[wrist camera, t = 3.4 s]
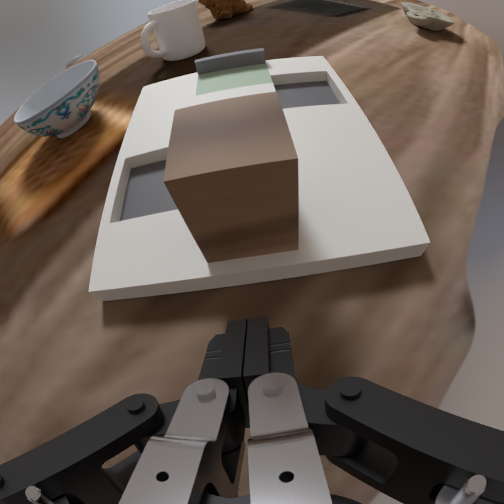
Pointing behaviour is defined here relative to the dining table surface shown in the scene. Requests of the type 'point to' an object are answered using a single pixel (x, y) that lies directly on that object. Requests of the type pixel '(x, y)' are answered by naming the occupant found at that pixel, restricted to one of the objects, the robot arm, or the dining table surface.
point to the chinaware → (61, 102)
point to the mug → (174, 31)
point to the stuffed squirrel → (226, 7)
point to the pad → (233, 78)
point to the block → (235, 176)
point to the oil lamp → (426, 17)
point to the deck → (309, 178)
